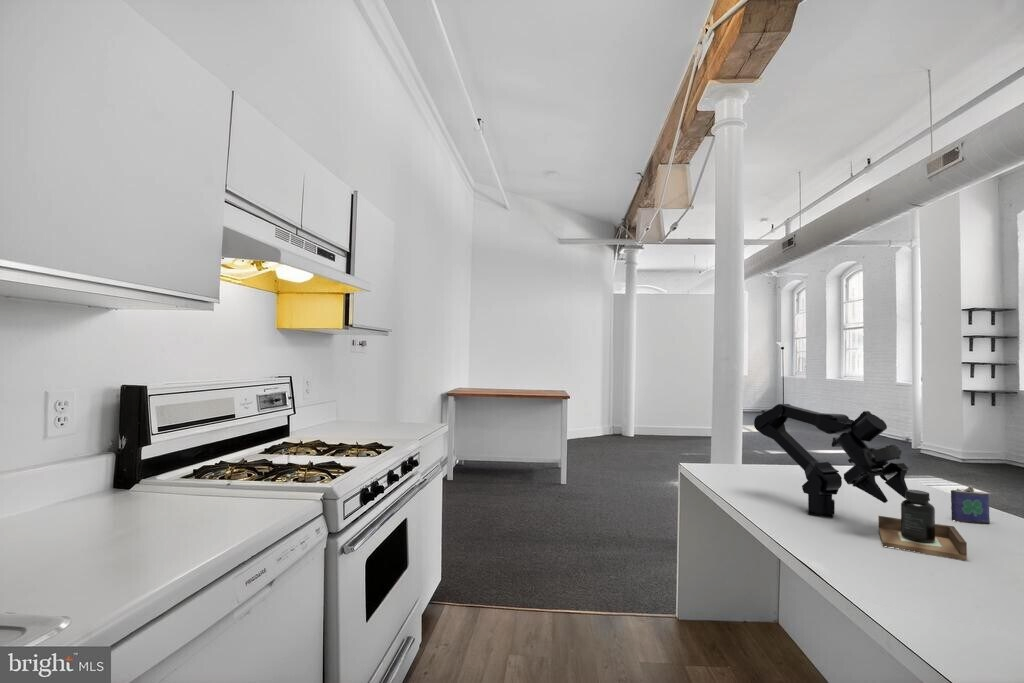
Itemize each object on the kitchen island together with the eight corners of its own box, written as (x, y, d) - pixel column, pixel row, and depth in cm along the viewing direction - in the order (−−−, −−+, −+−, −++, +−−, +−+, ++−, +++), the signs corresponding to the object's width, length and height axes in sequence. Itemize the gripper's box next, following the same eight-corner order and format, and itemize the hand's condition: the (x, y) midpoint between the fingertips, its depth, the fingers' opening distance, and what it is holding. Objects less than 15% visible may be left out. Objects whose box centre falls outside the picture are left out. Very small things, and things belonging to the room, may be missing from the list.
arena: (883, 546, 129) (882, 529, 129) (878, 531, 142) (878, 515, 142) (966, 560, 121) (966, 542, 121) (954, 542, 134) (953, 526, 134)
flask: (986, 522, 153) (985, 485, 153) (992, 525, 150) (992, 488, 150) (949, 519, 155) (948, 483, 156) (954, 522, 152) (954, 485, 153)
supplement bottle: (911, 533, 136) (911, 487, 137) (941, 542, 130) (940, 493, 130) (895, 536, 133) (894, 489, 134) (924, 545, 127) (924, 496, 128)
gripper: (854, 435, 139) (897, 486, 128) (901, 433, 145) (945, 482, 134) (827, 458, 146) (865, 509, 135) (873, 456, 152) (912, 504, 142)
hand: (898, 500), depth 137 cm, fingers open, 9 cm apart
